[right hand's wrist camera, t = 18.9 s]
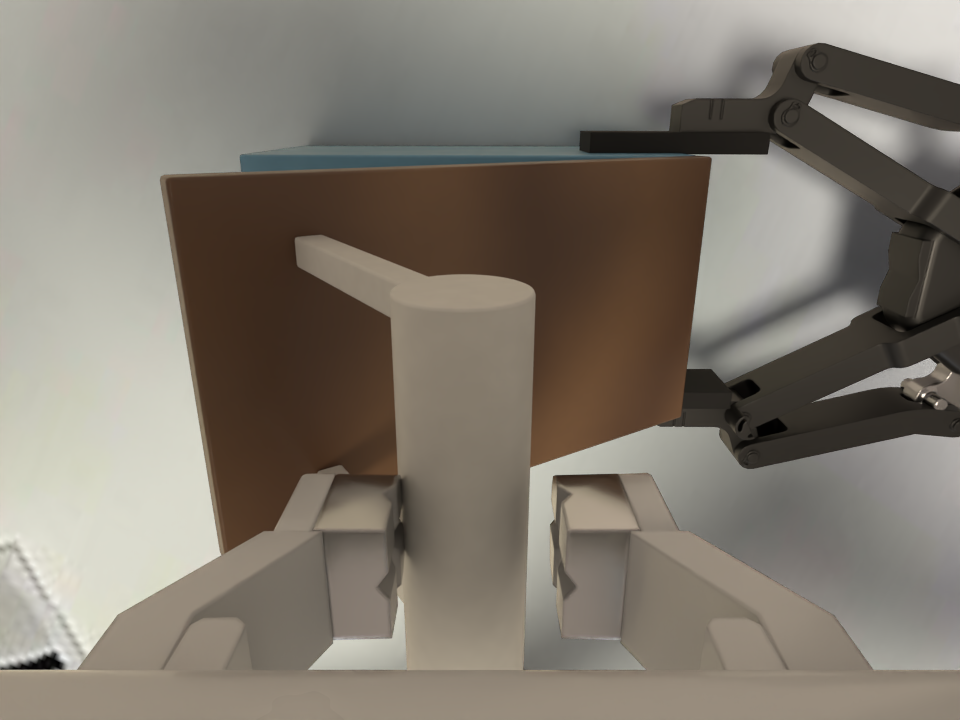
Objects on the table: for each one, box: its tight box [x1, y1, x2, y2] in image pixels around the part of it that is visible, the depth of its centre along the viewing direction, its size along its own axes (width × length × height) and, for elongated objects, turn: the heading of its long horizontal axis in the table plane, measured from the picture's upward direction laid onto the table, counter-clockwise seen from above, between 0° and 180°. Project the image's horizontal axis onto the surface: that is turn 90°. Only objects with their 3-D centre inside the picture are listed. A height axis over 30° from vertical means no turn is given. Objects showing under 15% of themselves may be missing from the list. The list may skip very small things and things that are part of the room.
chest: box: [240, 146, 695, 172], centre depth 28 cm, size 16×10×9 cm, turn 90°
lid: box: [160, 156, 712, 670], centre depth 16 cm, size 17×10×9 cm
